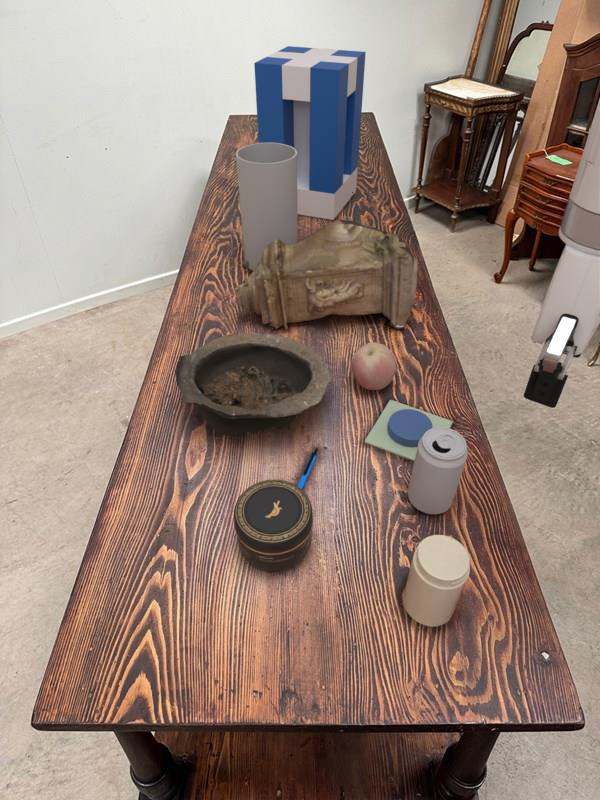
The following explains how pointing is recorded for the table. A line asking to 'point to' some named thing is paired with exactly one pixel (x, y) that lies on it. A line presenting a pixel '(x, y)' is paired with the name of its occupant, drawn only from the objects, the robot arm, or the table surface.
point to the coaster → (383, 440)
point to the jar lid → (408, 427)
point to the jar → (273, 525)
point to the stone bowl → (251, 382)
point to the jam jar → (436, 580)
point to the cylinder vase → (267, 197)
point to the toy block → (314, 120)
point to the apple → (373, 366)
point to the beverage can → (437, 470)
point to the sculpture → (332, 277)
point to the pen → (307, 469)
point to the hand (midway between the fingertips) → (552, 375)
